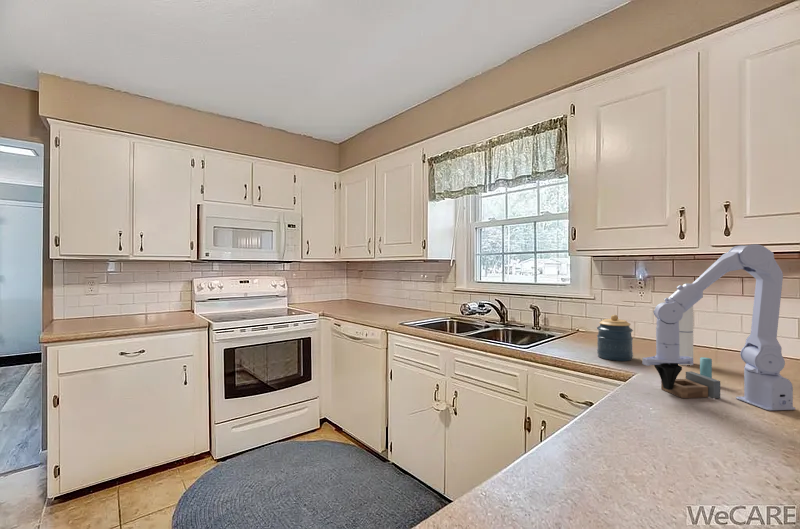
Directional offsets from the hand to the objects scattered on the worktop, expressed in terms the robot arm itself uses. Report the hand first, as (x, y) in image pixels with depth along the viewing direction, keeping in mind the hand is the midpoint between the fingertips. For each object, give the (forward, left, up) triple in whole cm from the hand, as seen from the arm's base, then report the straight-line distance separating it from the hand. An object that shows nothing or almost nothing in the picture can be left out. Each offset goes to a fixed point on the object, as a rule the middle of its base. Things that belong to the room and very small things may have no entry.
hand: (667, 388), depth 116 cm
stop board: (0, -11, -2) cm, 11 cm away
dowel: (+9, -20, -2) cm, 22 cm away
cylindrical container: (+33, -32, -2) cm, 46 cm away
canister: (+44, -12, -2) cm, 45 cm away
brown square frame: (0, -5, -2) cm, 5 cm away
